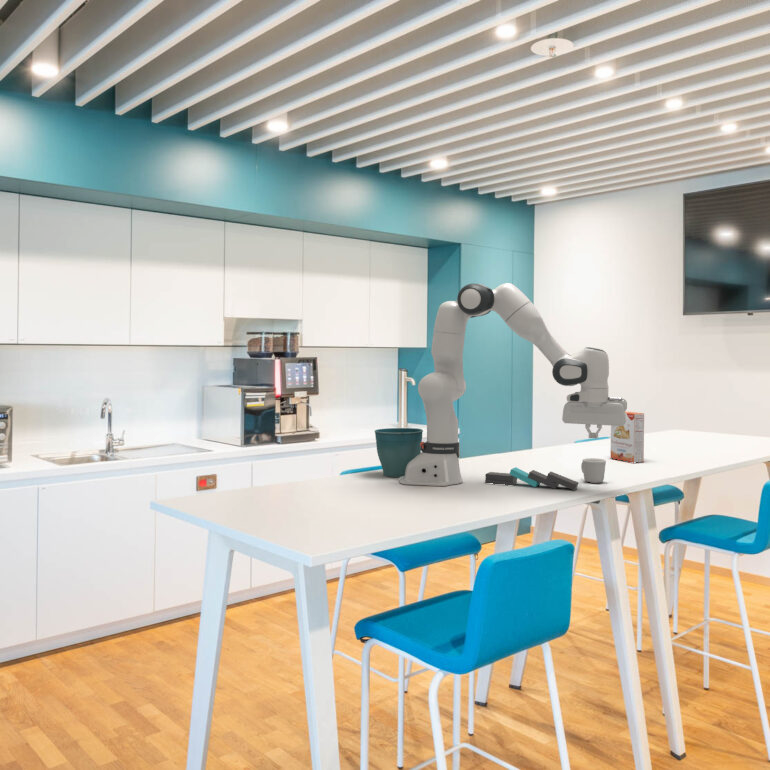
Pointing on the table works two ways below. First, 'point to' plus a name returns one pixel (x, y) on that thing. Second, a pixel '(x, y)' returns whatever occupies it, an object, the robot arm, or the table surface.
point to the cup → (593, 470)
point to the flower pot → (397, 449)
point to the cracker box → (629, 439)
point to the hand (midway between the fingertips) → (593, 438)
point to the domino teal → (523, 476)
